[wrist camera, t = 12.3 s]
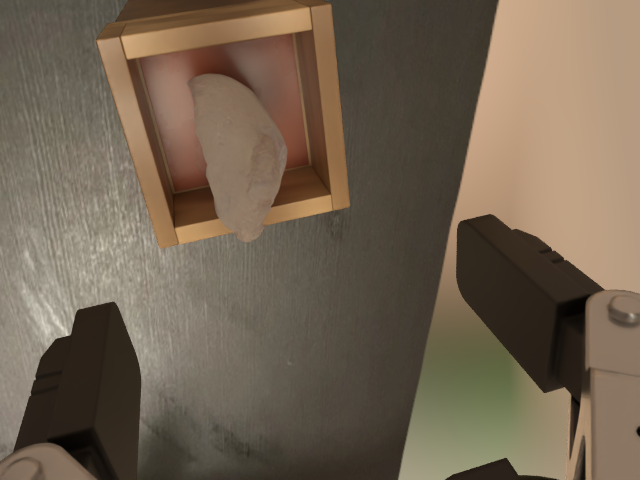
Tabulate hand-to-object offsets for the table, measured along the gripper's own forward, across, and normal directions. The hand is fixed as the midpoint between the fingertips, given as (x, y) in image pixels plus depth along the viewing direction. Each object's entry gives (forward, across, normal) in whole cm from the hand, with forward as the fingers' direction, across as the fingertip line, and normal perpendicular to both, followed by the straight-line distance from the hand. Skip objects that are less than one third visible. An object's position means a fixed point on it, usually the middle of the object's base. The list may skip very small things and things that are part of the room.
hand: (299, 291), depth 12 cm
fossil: (+17, 0, 0) cm, 17 cm away
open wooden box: (+18, 0, 0) cm, 18 cm away
